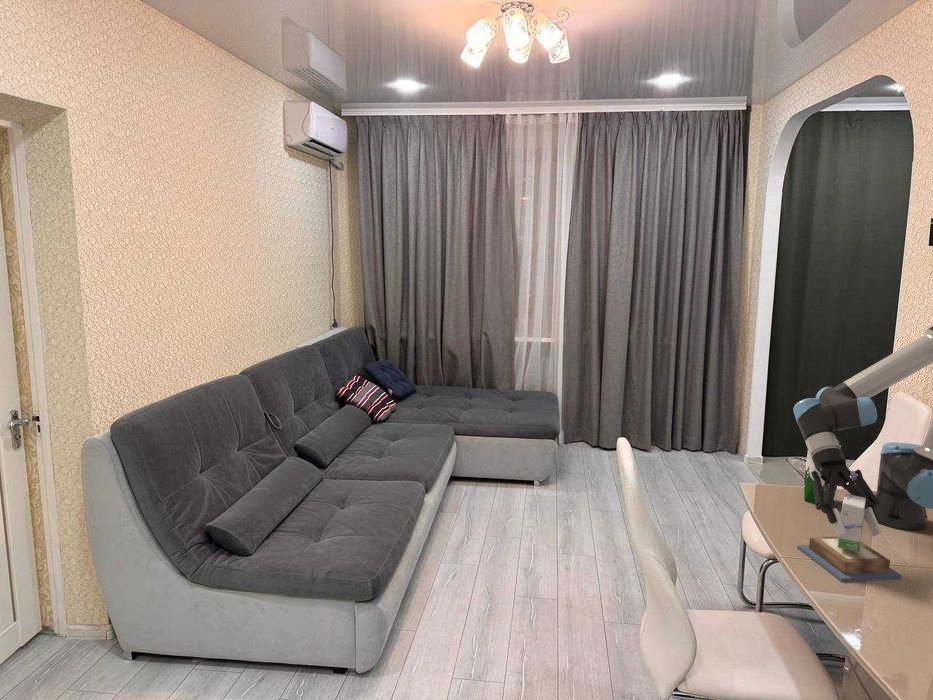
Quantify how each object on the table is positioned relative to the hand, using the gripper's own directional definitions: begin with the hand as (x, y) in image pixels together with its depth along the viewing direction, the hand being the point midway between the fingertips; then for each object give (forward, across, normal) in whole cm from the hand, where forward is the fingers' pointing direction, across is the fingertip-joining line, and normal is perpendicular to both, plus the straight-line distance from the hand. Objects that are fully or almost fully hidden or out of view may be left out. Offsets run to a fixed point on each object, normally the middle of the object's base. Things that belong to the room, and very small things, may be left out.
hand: (859, 534), depth 172 cm
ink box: (+1, 0, -5) cm, 5 cm away
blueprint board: (+4, 0, -9) cm, 10 cm away
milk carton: (-24, -19, -37) cm, 48 cm away
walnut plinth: (+4, 0, -9) cm, 10 cm away
